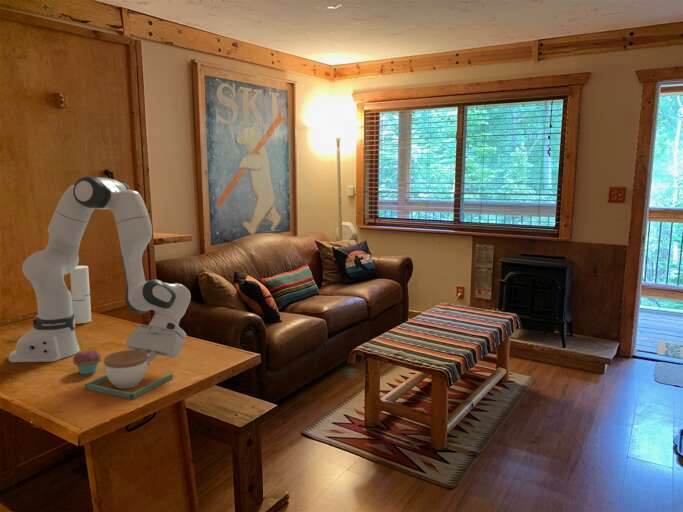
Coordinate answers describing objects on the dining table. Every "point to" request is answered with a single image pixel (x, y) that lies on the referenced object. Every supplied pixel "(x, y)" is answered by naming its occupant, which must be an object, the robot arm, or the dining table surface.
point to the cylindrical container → (80, 294)
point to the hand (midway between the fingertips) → (143, 364)
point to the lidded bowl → (126, 368)
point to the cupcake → (86, 360)
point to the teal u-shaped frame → (94, 386)
